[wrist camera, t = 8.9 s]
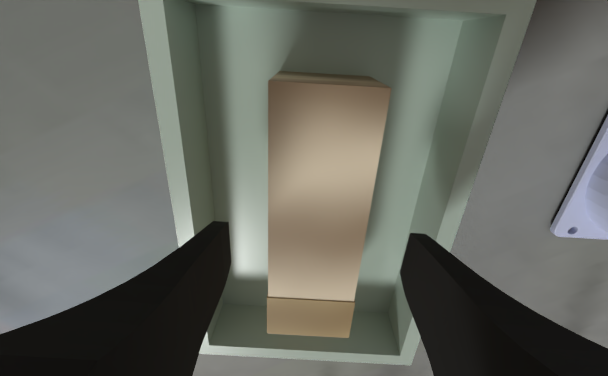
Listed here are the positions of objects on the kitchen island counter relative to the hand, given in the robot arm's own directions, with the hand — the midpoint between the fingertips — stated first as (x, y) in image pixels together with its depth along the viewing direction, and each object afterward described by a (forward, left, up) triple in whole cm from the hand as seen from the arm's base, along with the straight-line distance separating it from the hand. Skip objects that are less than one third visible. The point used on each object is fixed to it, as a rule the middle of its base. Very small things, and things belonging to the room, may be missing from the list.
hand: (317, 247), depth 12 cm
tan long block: (0, 0, -5) cm, 5 cm away
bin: (0, 0, -6) cm, 6 cm away
